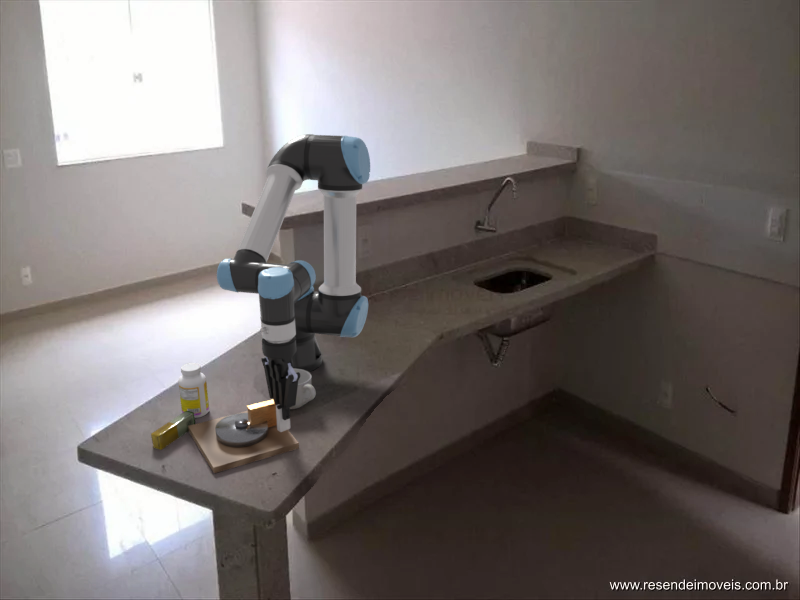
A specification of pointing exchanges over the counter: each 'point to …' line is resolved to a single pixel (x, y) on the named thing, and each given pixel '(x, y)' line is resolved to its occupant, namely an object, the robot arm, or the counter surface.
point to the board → (233, 457)
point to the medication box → (172, 430)
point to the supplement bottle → (193, 390)
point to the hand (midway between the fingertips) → (283, 429)
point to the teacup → (304, 389)
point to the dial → (247, 425)
